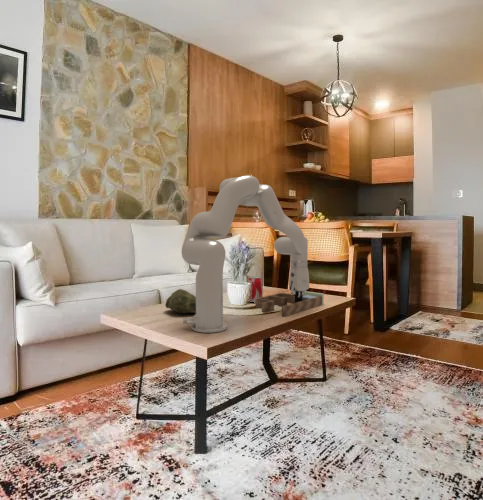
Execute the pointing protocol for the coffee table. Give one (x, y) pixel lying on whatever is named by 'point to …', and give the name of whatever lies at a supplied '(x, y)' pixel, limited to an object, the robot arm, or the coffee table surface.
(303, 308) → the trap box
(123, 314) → the coffee table surface
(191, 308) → the decorative rock
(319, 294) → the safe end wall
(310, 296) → the block
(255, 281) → the soda can
